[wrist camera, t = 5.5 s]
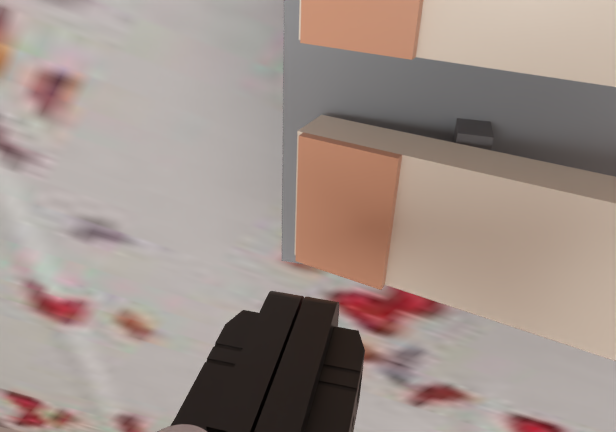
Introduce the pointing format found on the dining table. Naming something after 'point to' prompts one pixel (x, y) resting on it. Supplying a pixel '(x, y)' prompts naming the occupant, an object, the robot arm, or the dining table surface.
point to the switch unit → (441, 108)
